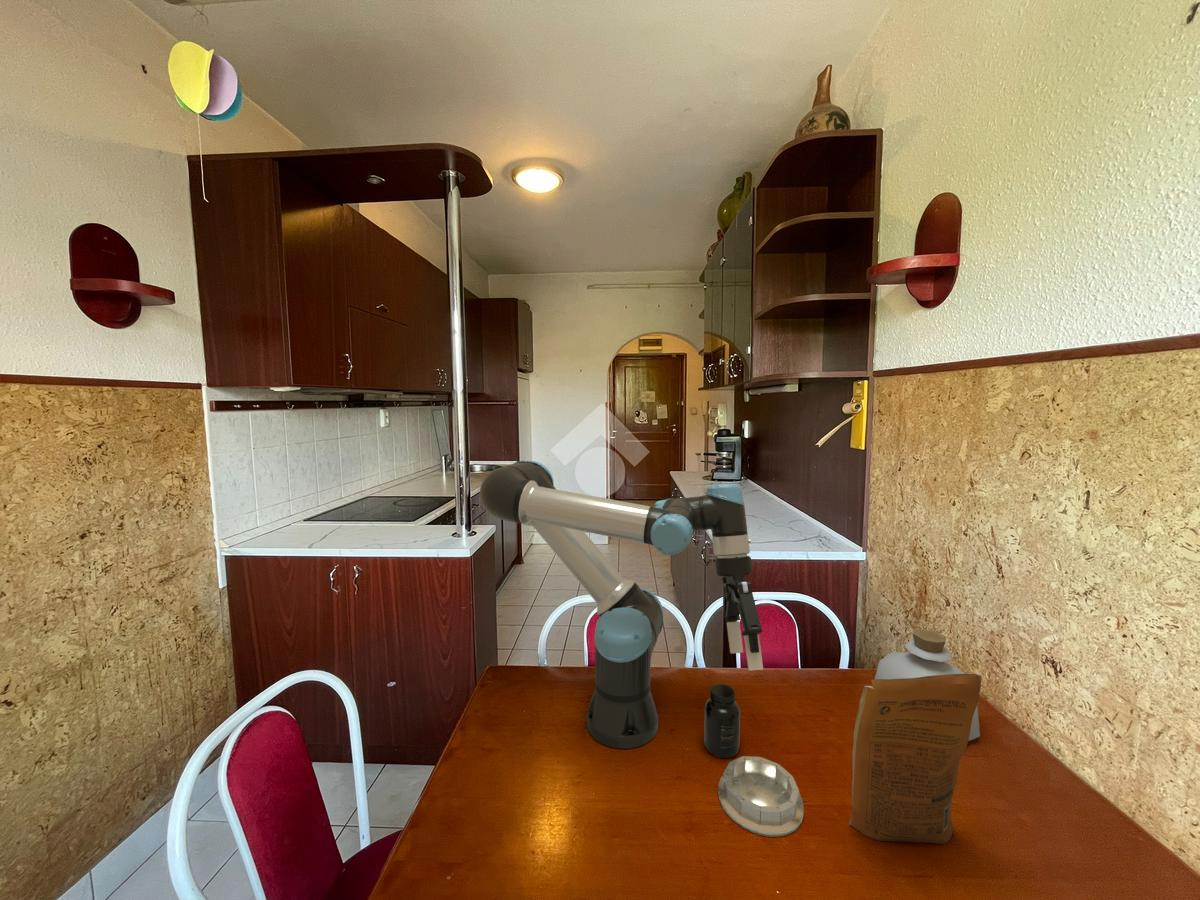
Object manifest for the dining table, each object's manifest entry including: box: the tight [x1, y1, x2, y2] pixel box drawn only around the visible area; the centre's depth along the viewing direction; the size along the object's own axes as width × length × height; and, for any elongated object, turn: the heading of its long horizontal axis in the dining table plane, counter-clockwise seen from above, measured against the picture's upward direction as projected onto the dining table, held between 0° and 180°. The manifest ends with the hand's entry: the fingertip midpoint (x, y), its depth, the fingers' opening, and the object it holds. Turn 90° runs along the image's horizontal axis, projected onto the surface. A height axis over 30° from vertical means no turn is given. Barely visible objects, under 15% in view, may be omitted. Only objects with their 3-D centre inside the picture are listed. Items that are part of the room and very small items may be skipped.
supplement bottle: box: [703, 683, 741, 759], centre depth 97 cm, size 7×7×12 cm
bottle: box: [874, 628, 981, 742], centre depth 106 cm, size 20×20×19 cm
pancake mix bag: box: [848, 673, 983, 845], centre depth 77 cm, size 7×19×28 cm, turn 87°
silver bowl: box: [717, 755, 805, 838], centre depth 85 cm, size 14×14×4 cm
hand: (745, 660), depth 101 cm, fingers open, 13 cm apart
